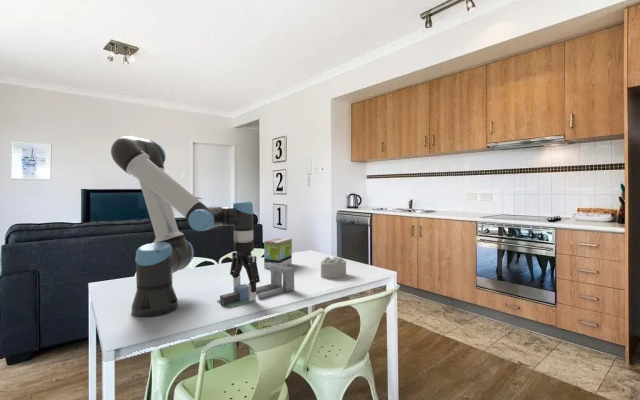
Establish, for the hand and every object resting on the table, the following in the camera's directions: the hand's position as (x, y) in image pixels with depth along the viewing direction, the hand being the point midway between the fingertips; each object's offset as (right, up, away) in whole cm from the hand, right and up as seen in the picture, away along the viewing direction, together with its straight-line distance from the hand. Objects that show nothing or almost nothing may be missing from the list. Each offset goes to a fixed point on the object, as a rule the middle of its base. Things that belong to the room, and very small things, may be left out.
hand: (244, 296), depth 134 cm
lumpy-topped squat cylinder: (+36, 0, +35) cm, 50 cm away
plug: (-3, -1, -3) cm, 4 cm away
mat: (-3, -1, -2) cm, 4 cm away
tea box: (+7, +1, +55) cm, 56 cm away
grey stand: (+9, 0, +9) cm, 13 cm away
